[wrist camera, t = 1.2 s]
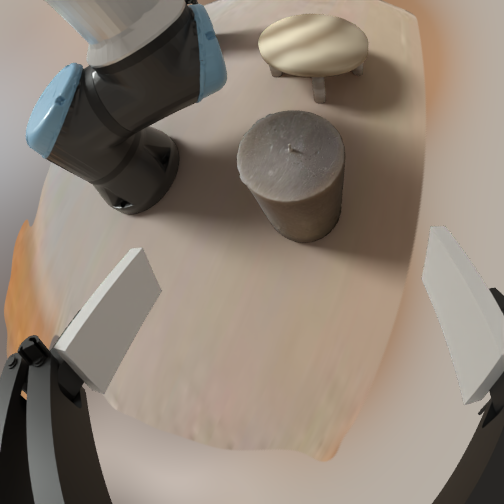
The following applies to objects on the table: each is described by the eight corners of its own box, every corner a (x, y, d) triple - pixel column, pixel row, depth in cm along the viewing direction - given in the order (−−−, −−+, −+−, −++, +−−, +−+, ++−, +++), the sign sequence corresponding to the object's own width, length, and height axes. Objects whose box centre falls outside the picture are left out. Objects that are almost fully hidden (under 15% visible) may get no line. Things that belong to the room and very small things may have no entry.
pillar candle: (356, 210, 34) (371, 146, 20) (298, 258, 34) (278, 221, 20) (307, 161, 37) (292, 85, 23) (252, 204, 38) (209, 144, 23)
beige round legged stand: (249, 76, 43) (236, 45, 35) (312, 36, 42) (307, 6, 34) (321, 122, 37) (318, 86, 30) (384, 73, 36) (388, 40, 29)
